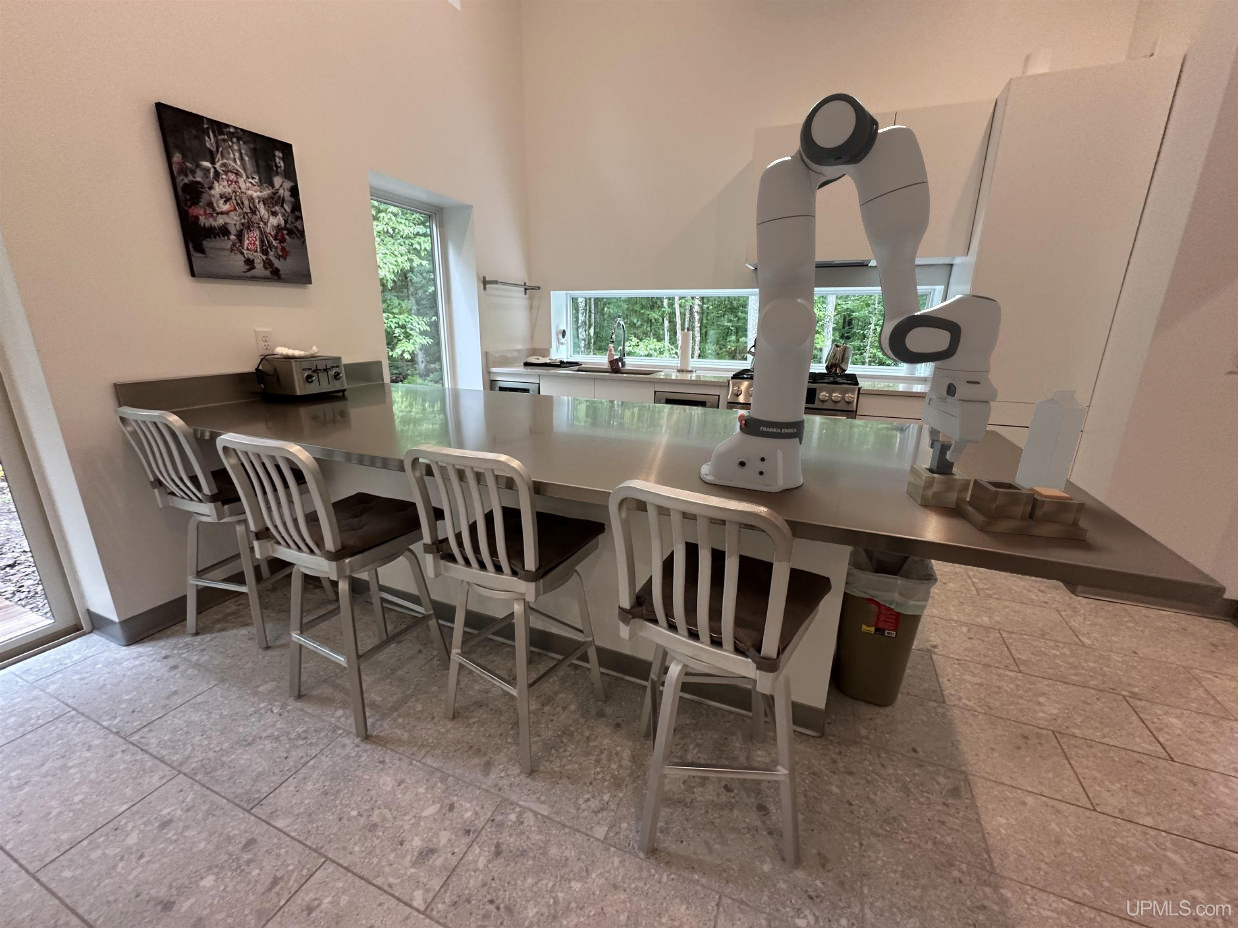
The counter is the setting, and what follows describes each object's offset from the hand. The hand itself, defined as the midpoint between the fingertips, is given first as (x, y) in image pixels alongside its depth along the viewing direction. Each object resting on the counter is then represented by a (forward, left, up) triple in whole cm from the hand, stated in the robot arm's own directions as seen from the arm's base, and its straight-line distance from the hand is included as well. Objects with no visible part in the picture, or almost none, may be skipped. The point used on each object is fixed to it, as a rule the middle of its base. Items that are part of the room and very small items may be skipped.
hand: (942, 454), depth 99 cm
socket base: (+10, -10, -10) cm, 17 cm away
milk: (+24, +11, -10) cm, 28 cm away
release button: (+14, -10, -7) cm, 19 cm away
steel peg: (0, 0, -10) cm, 10 cm away
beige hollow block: (0, 0, -10) cm, 10 cm away
